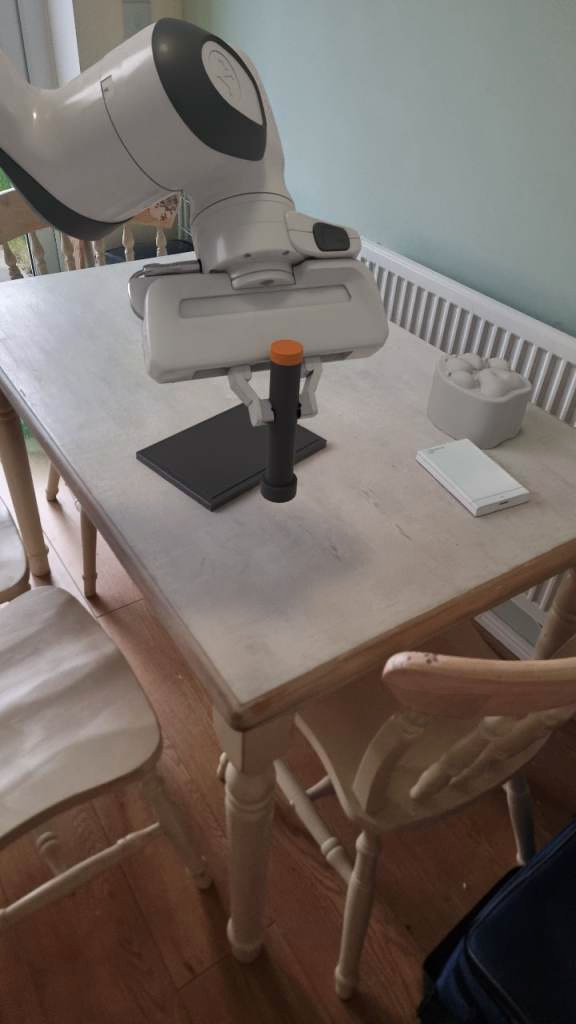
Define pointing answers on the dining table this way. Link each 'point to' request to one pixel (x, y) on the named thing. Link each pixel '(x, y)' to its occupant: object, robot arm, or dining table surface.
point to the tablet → (220, 456)
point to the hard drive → (472, 477)
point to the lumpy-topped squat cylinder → (478, 399)
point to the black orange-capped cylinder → (282, 421)
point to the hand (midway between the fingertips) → (285, 420)
